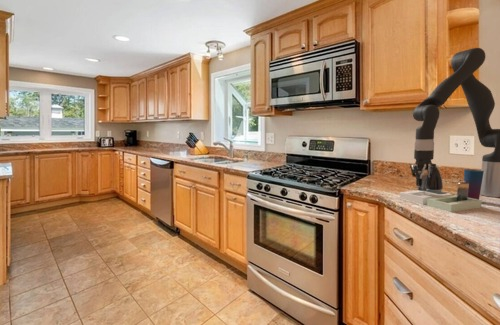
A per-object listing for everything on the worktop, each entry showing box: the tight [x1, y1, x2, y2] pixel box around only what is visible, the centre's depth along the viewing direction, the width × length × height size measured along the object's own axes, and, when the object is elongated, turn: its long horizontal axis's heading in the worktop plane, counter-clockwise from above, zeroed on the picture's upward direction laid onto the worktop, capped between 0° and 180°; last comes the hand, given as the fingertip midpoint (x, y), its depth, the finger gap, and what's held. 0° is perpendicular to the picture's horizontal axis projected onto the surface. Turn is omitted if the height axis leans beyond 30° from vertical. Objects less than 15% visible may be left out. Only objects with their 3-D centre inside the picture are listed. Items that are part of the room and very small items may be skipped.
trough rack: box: [426, 194, 483, 213], centre depth 113 cm, size 18×10×4 cm, turn 108°
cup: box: [463, 168, 484, 200], centre depth 120 cm, size 7×7×15 cm
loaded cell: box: [456, 180, 469, 202], centre depth 114 cm, size 4×4×11 cm
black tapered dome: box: [427, 166, 444, 192], centre depth 137 cm, size 10×10×15 cm
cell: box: [417, 169, 428, 191], centre depth 124 cm, size 4×4×11 cm
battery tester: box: [399, 189, 453, 205], centre depth 125 cm, size 18×12×4 cm, turn 108°
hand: (422, 185), depth 124 cm, fingers closed on cell, 3 cm apart
